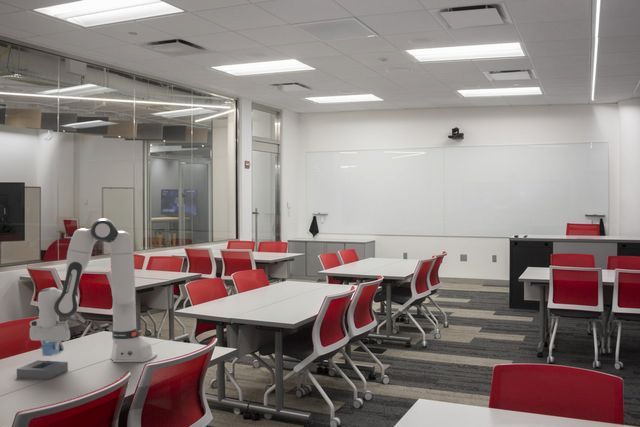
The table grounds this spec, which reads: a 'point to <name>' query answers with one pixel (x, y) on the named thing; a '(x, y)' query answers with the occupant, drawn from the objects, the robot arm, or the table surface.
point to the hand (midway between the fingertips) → (50, 349)
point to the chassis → (42, 369)
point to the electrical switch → (60, 346)
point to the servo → (49, 348)
